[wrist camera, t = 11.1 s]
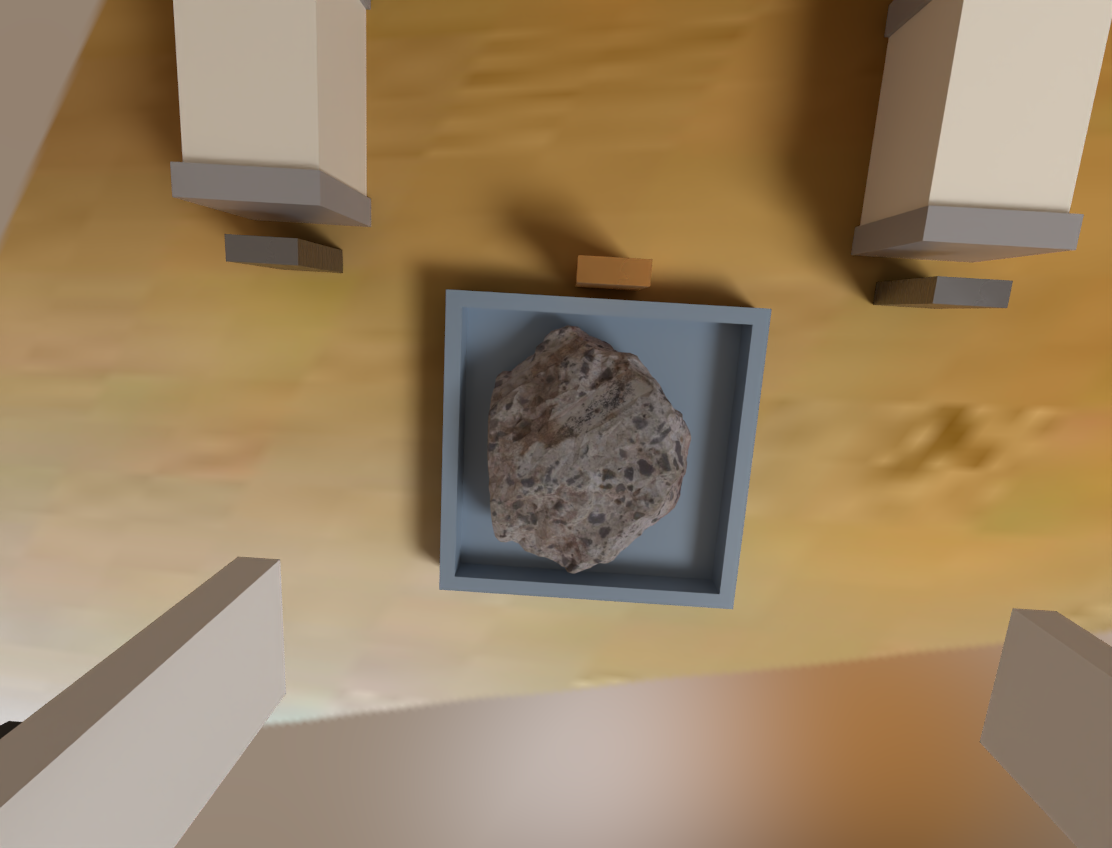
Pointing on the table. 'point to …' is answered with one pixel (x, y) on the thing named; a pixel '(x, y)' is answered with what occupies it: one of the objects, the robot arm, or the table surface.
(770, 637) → the table surface
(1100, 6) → the fuse
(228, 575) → the robot arm
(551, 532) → the rock
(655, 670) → the table surface
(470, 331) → the tray
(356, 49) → the fuse
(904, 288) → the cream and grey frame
